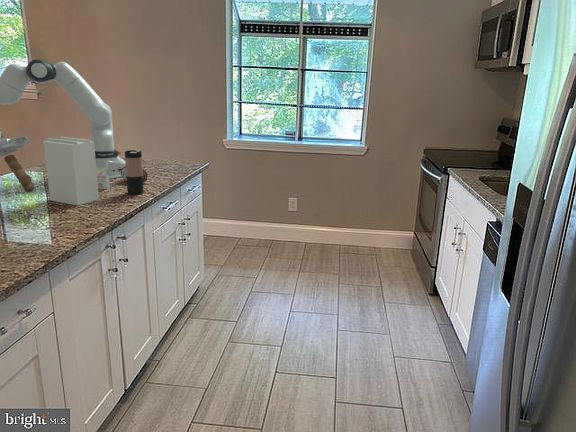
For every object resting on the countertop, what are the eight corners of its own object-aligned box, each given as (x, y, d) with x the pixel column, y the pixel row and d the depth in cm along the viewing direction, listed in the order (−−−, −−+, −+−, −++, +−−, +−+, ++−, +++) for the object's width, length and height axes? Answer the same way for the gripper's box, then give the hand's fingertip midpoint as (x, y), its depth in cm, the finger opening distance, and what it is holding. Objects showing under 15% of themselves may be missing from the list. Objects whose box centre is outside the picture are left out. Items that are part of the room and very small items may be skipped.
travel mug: (128, 195, 209) (125, 153, 203) (126, 191, 215) (123, 150, 209) (145, 194, 212) (143, 152, 206) (142, 190, 219) (140, 149, 213)
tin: (148, 183, 233) (147, 167, 230) (144, 184, 230) (143, 168, 227) (124, 180, 237) (123, 164, 235) (120, 181, 235) (119, 165, 232)
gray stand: (50, 200, 196) (42, 138, 188) (72, 194, 206) (65, 135, 198) (78, 205, 190) (71, 142, 182) (99, 199, 201) (93, 139, 193)
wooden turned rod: (1, 160, 208) (6, 153, 206) (12, 160, 213) (17, 153, 211) (24, 193, 206) (29, 187, 204) (34, 192, 210) (39, 185, 208)
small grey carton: (96, 187, 221) (94, 167, 218) (109, 187, 221) (108, 167, 218) (93, 189, 217) (91, 169, 214) (107, 189, 218) (105, 169, 215)
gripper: (-26, 145, 199) (-7, 136, 193) (13, 137, 217) (32, 129, 212) (-20, 158, 200) (0, 150, 195) (19, 150, 218) (38, 142, 213)
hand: (17, 139), depth 203 cm, fingers open, 8 cm apart
